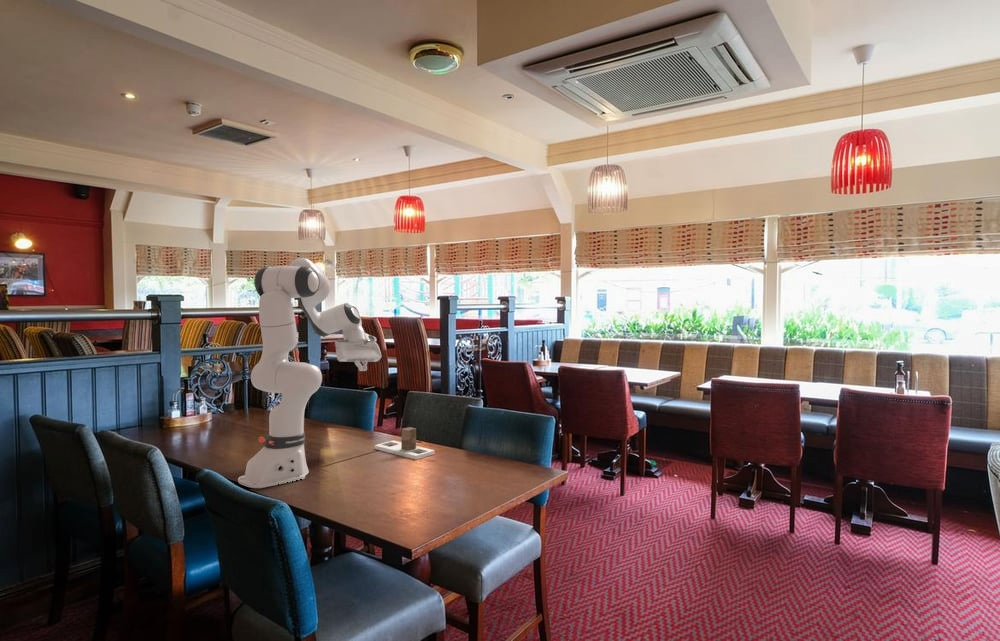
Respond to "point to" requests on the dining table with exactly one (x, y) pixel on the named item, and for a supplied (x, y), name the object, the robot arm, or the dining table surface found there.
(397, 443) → the board
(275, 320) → the robot arm
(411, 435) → the walnut block
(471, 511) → the dining table surface
